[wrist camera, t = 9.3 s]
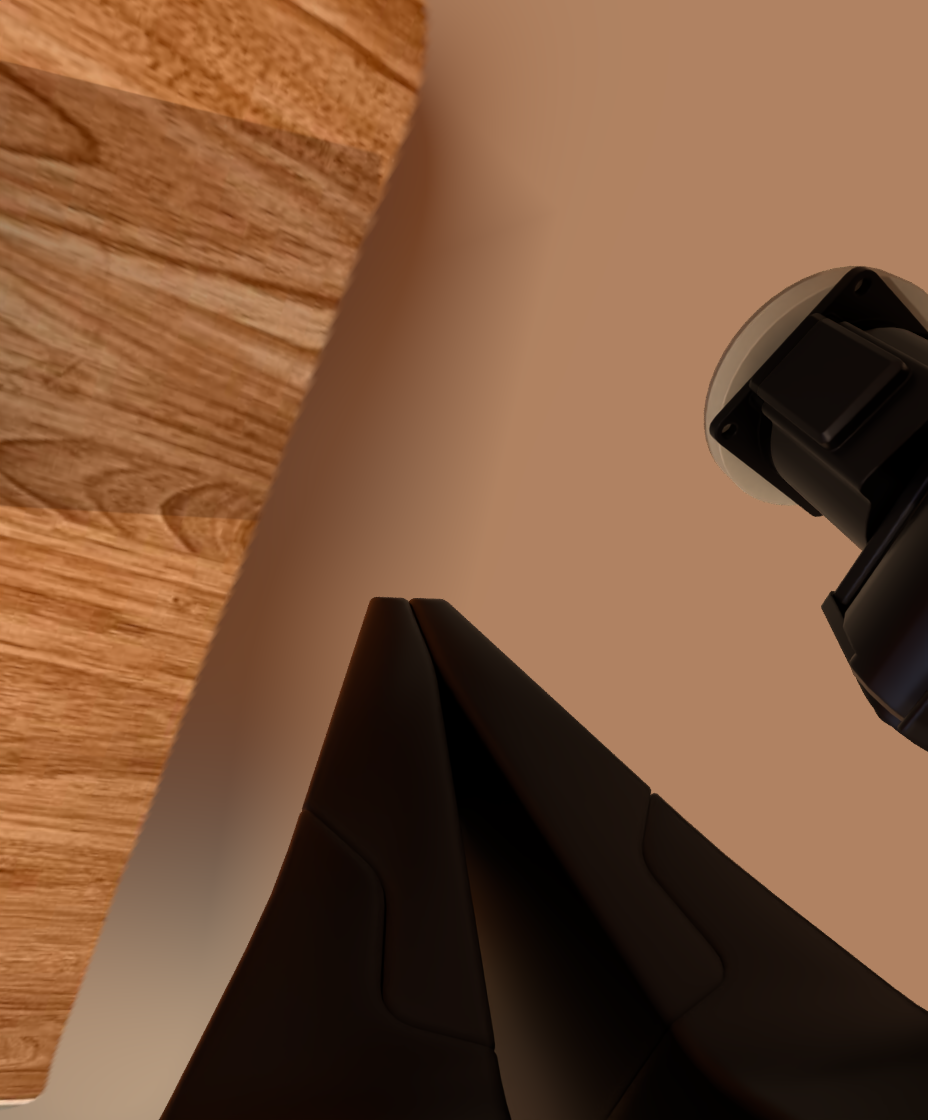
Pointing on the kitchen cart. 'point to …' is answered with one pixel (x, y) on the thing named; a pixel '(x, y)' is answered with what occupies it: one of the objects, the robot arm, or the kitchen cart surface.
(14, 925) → the kitchen cart surface
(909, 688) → the robot arm
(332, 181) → the kitchen cart surface
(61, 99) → the kitchen cart surface
